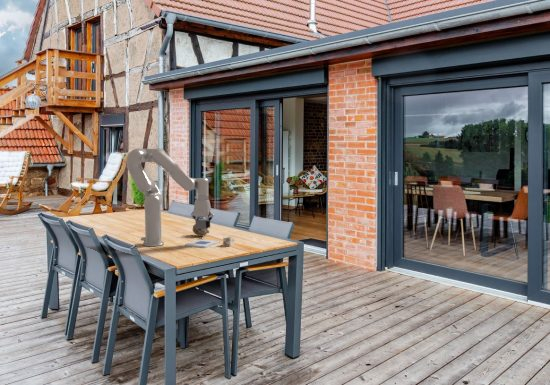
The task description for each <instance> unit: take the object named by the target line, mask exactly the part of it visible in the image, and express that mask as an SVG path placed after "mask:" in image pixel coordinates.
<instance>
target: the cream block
mask: <svg viewBox="0 0 550 385" xmlns="http://www.w3.org/2000/svg"><path fill="white" fill-rule="evenodd" d="M222 246H223V247H224V246H225V247H232V246H235V236H225V237H222Z"/></svg>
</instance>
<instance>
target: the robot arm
mask: <svg viewBox="0 0 550 385" xmlns="http://www.w3.org/2000/svg"><path fill="white" fill-rule="evenodd" d="M125 161H126V168H127V170H128V172H129V174H130V176H131V178H132V180H133V182H134V184H135V187H136V189H137V190H138V192H140V193H142V194H143V195H144V197H145V198H144V200H143V202H144V203H143V206H144V207H143V209H144V225H145V226H144V230H145V231H144V232H145V234H144V236H142V237H141V238H140V241H141V242H142V241H143V242H142V246H144V247H161V246H163V245H165V242H164V241H162V208H161V206H162V204H163V203H164V202H163V201H164V197H163V195H162V193H161V192H160V190H159V187H158V185H157V183H156V181H155V180H154V179H153V178H152V177H150V176H148V175H147V173H146V170H145V169H144V167H143V166H142V163H155V164H156V165H157V166H158V167H160V168H161V170H163V171H164V172H165V173H166V174H167V175H168V176H169V177H170V178H171V179H172V180H173V181H174V182H175V183H176V184H178V186H180V187H181V188H182V189H183V190H185V191H188V192H191V191H193V190H195V193H196V195H195V196H194V199H195V200H194V203H193V204H194V205H193V206H194V207H193V211H192V213H191V216H192V218H193V219H194V221H195V220H199V219H200V217H201V218H205V219H207V221H206V227H207V228H208V227H210V228H211V221H212V219H213V218H214V217H215V214H214V213H213V211H212V206H211V202H210V198H209V196H210V195H209V179H208V178H206V177H199V178H195V177H190V176H188V175H187V174H186V172H185V171H183V170H182V169H181V167H180V165H179V164H178V163H177V162H176V161H175V160H174V159H173V158H172V157H170V155H168V154H167V152H166V151H165V150H164V149H162V148H157V147H156V148H133V149H132V150H130V152H129V153H128V155H127V157H126V160H125ZM208 229H209V228H208Z"/></svg>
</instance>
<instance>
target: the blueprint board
mask: <svg viewBox="0 0 550 385" xmlns="http://www.w3.org/2000/svg"><path fill="white" fill-rule="evenodd" d="M219 243H220V240H210V239H209V240H208V239H197V240H194V241H191V242H188V243H185V244H184V246H185V247H190V248H204V249H206V248H210V247H211V246H215V245H217V244H219Z"/></svg>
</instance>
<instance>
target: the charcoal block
mask: <svg viewBox="0 0 550 385" xmlns="http://www.w3.org/2000/svg"><path fill="white" fill-rule="evenodd" d="M206 221H207V219H206V218H201V219H200V218H199V220H195V219H194V222H195V224H196V229H207V227H206ZM208 229H211V226H210V227H208ZM208 229H207V230H208Z"/></svg>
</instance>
